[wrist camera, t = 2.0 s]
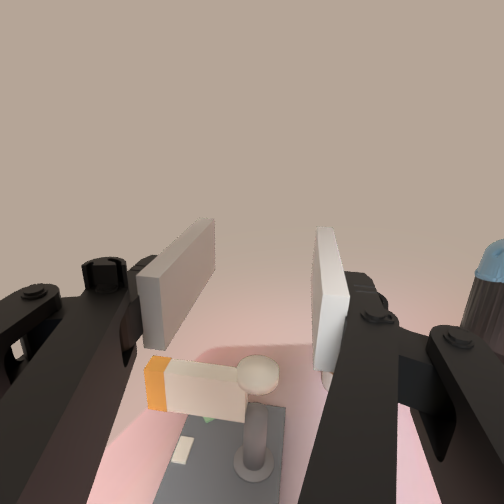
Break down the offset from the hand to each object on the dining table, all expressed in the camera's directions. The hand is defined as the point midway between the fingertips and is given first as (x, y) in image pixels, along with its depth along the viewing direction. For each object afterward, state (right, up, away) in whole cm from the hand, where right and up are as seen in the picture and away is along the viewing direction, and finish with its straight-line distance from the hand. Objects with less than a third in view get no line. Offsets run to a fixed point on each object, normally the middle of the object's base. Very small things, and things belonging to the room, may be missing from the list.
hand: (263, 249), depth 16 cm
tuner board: (-3, -24, +21) cm, 32 cm away
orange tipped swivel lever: (-5, -22, +20) cm, 31 cm away
